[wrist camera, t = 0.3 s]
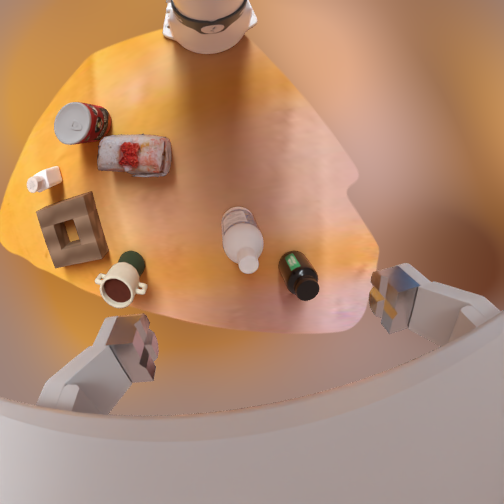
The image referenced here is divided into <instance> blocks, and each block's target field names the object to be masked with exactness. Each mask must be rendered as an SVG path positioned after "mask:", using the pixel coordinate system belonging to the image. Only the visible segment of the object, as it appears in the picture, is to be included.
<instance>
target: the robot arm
mask: <svg viewBox="0 0 504 504" xmlns="http://www.w3.org/2000/svg"><path fill="white" fill-rule="evenodd" d="M166 2H167V3H168V5H167V9H166V16H165V22H164V27H163V35H164V36H165V37H166V38H169V39H172V40H175V41H177V42H178V43H179V44H181V45H182V46H183V47H184V48H186V49H188V50H190V51H192V52H195V53H200V54H214V53H219V52H222V51H225V50H227V49H229V48H231V47H233V46H234V45H236V44H237V43H238V42H239V41H240V40H241V38H242V37H243V35H244V34H245V32H246V31H247V30H249V29H250V28H252V27H253V26H255V25H256V24H257V18H256V15H255V13H254V11H253V9H252V7H251V5H250V2H249V0H166ZM168 27H170V28H168ZM371 283H372V285H373V288H372V289H371V291H370V292H369V304H370V308H371V310H372V312H373V313H374V315H375V316H377V317H380V318H382V319H381V324H382V325H383V326H384V328H385V329H386V330H387V332H388V333H389V334H391V333H394V332H397V331H401V330H404V329H406V328H408V329H409V330H411V331H413V332H414V333H416V334H418V335H420V336H422V337H424V338H426V339H427V340H429V341H431V342H433V343H435V344H437V345H439V346H440V347H439V348H437V349H435V350H433V351H431V352H429V353H426V354H424V355H422V356H420V357H418V358H415V359H413V360H411V361H409V362H406V363H404V364H401V365H399V366H397V367H394V368H391V369H389V370H386V371H384V372H381V373H378V374H376V375H373V376H370V377H367V378H364V379H361V380H358V381H355V382H352V383H349V384H346V385H343V386H339V387H336V388H333V389H329V390H325V391H322V392H318V393H314V394H311V395H307V396H302V397H298V398H294V399H290V400H285V401H280V402H275V403H271V404H265V405H259V406H253V407H247V408H241V409H234V410H226V411H218V412H209V413H198V414H183V415H160V416H130V415H129V416H128V415H108V414H109V413H110V411H111V410H112V409H113V407H114V406H115V405H116V403H117V402H118V401H119V400H120V398H121V397H122V396H123V395H124V393H125V392H126V391H127V389H128V388H129V387H130V386H131V384H132V382H147V381H154V375H155V369H156V366H155V364H154V361H155V360H156V359H157V358H158V352H159V351H158V343H157V338H156V336H155V334H154V332H152V331H151V330H150V329H148V328H149V324H150V322H149V320H148V318H147V316H146V315H145V314H134V315H124V316H114V317H107V318H105V320H104V323H103V324H102V326H101V329H100V331H99V333H98V335H97V337H96V340H95V342H94V344H93V346H91V347H88V348H87V349H85V350H84V351H83V352H82V353H80V354H79V355H78V356H77V357H75V358H74V359H73V360H72V361H71V362H69V363H68V364H67V365H66V366H64V367H63V368H62V369H61V370H60V371H58V372H57V373H56V374H55V375H54V376H52V377H51V378H50V379H49V380H47V381H46V383H45V385H44V388H43V390H42V392H41V394H40V397H39V399H38V402H37V404H36V405H31V404H26V403H22V402H18V401H13V400H10V399H6V398H2V397H0V504H504V310H503V311H500V310H499V309H497V308H496V307H495V306H494V305H493V304H492V303H491V302H489V301H488V300H487V299H486V298H485V297H484V296H480V295H477V294H474V293H471V292H467V291H464V290H461V289H458V288H454V287H451V286H447V285H444V284H440V283H437V282H430V281H429V280H428V279H427V278H425V277H424V276H423V275H422V274H421V273H420V272H418V271H417V270H416V269H415V268H413V267H412V266H411V265H410V264H408V263H404V264H400V265H397V266H394V267H391V268H387V269H383V270H379V271H375V272H373V274H372V276H371Z"/></svg>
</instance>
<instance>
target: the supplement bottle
mask: <svg viewBox="0 0 504 504" xmlns="http://www.w3.org/2000/svg"><path fill="white" fill-rule="evenodd" d="M279 270H280V273H281V275H282V277H283V279H284V282H285V284H286V286H287V288H288V290H289V291H290V292H291V293H292V294H295V295H297V297H298V298H299V299H301V300H303V301H308V300H311V299H313V298H314V297H315V296H316V295H317V294H318V292H319V285H318V275H317V272H316V271H315V269H314V268H313V266H312V265H311V264H310V262H309V261H308V259H307V258H306V256H305V255H304V254H303V253H301V252H299V251H290V252H287V253H286V254H284V255H283V256H282V257H281V259H280V261H279Z"/></svg>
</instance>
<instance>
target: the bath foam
mask: <svg viewBox="0 0 504 504" xmlns="http://www.w3.org/2000/svg"><path fill="white" fill-rule="evenodd" d="M221 227H222V240H223V249H224V251H225V253H226V255H227V256H228V257H229V258H230V259H231V260H232V261H233V262H235V263H238V265H239V269H240V270H241V271H242V272H243V273H246V274H251V273H253V272H255V271H256V270H257V269H258V266H259V262H258V258H259V256H260V255H261V253H262V250H263V244H264V243H263V236H262V234H261V232H260V229H259V227H258V225H257V223H256V221H255V218H254V217H253V215H252V213H251V212H250V211H249V210H248V209H246V208H244V207H233V208H230V209H229V210H227V211H226V212H225V214H224V215H223V217H222V221H221Z"/></svg>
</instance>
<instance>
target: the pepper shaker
mask: <svg viewBox="0 0 504 504" xmlns="http://www.w3.org/2000/svg"><path fill="white" fill-rule="evenodd" d="M61 182H62V177H61V173H60V170H59V167H58V166H55V167H52V168H48V169H45V170H43V171H41V172H39V173H37V174H35V175H34V176H33V177H30V178H29V179H28V182H27V188H28V190H29V191H30V192H31V193H34V192H36V191H38V192H41V191H44V190H46V189H48V188H50V187H53V186H55V185H57V184H59V183H61Z"/></svg>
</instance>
